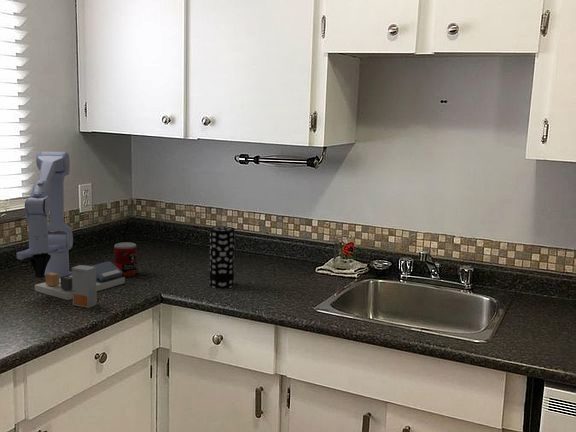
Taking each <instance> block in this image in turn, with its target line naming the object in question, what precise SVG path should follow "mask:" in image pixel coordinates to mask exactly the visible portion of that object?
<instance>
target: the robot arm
mask: <svg viewBox="0 0 576 432" xmlns="http://www.w3.org/2000/svg"><path fill="white" fill-rule="evenodd" d="M35 159H36V161H35V162H36V166H37V168H38V170H39V174H38V175H39V177H38V180H36V181H35V182H33V186H32V189H31V193H30V196H29V197H28V198H26V199H25V201H24V213H25V216H26V218H25V219H26V222H27V228H28V229H27V231H28V248H27V249H24V250H21V251H18V252H16V259H17V260H24V259H28V261H29V262H30V264H31V266H32V268H33V270H34V274H35V277H36V278H38V279H42V278H45V274H47V273H51V272H53V273H57V274H59V278H62V277H66V276H71V275H72V270H71V271H70V260H69V257H70V256H69V250H71V249H72V248H73V244H74V236H73V229H72V227H71V226H69V225H68V224H67V223H65V222H64V221H65V220H64V217H65V214H64V212H65V211H64V209H65V207H64V205H65V203H64V198H65V197H64V195H65V194H64V193H65V192H64V191H65V189H64V185H65V184H64V181H65V177H66V176H68V175H70V171H71V169H70V167H71V166H70V154H69V153H68V152H67V151H42V150H40V151H38V152H37V153H36V158H35ZM48 216H49V217H48ZM48 218H49V221H48Z"/></svg>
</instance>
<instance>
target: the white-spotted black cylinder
mask: <svg viewBox="0 0 576 432" xmlns="http://www.w3.org/2000/svg"><path fill="white" fill-rule="evenodd" d="M234 276H235V228H234V227H231V226H222V225H221V226H212V227H210V228H209V287H210V288H213V289H217V290H225V289H231V288H233V287H234V285H235V283H234V282H235V281H234V280H235V277H234Z"/></svg>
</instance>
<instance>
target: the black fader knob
mask: <svg viewBox="0 0 576 432" xmlns="http://www.w3.org/2000/svg"><path fill="white" fill-rule="evenodd" d="M69 276H70V275H68V276H64V277H60V278H61V289H65V290H71V289H72V277H69Z"/></svg>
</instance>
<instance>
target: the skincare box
mask: <svg viewBox="0 0 576 432" xmlns="http://www.w3.org/2000/svg"><path fill="white" fill-rule="evenodd" d="M71 272H72V274H71V275H72V297H73V299H72V306H77V307H82V308H87V309H90V308H92V307H94V306H96V305H97V304H98V301H97V299H98V298H97V297H98V295H97V293H98V291H97V288H96V267H92V265H84V264H83V265H82V264H78V265H76V266H72V267H71Z"/></svg>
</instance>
